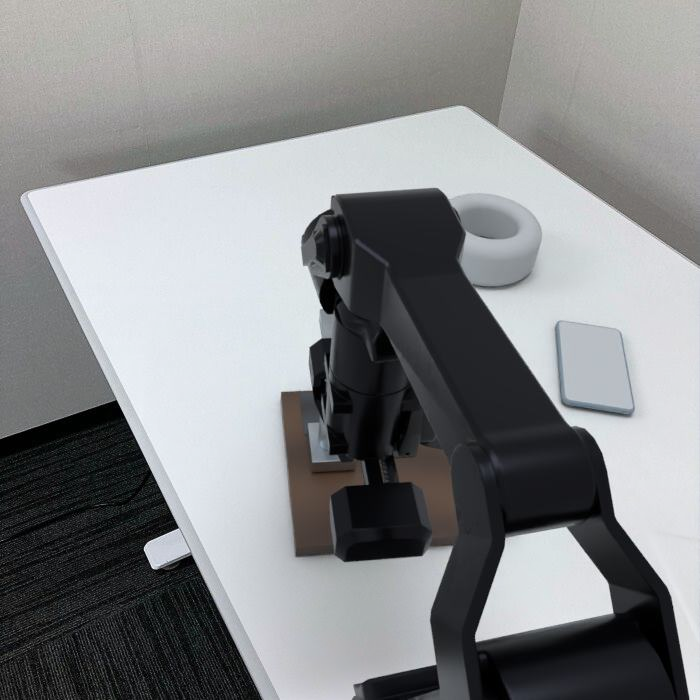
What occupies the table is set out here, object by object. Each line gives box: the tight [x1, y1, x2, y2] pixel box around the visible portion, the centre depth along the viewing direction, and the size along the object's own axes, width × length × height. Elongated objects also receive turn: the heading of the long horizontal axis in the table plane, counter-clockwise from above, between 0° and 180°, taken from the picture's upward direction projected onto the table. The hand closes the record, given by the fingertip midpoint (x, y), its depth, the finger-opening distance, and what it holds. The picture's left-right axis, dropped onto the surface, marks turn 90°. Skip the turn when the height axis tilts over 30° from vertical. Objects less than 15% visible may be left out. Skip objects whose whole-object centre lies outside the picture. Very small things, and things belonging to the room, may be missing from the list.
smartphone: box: [555, 320, 636, 415], centre depth 94 cm, size 8×1×15 cm
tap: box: [307, 308, 356, 472], centre depth 77 cm, size 11×4×13 cm, turn 8°
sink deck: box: [280, 389, 458, 558], centre depth 80 cm, size 20×20×2 cm
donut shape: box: [448, 192, 543, 287], centre depth 107 cm, size 15×15×7 cm
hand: (354, 506), depth 61 cm, fingers open, 9 cm apart
